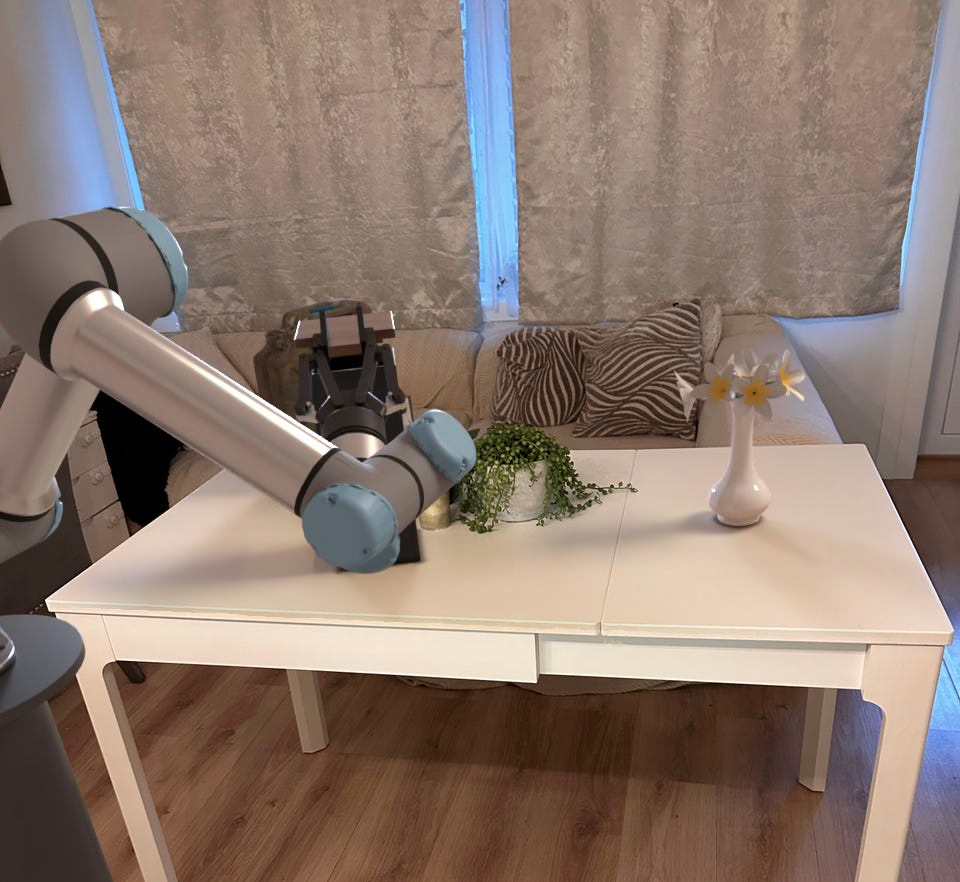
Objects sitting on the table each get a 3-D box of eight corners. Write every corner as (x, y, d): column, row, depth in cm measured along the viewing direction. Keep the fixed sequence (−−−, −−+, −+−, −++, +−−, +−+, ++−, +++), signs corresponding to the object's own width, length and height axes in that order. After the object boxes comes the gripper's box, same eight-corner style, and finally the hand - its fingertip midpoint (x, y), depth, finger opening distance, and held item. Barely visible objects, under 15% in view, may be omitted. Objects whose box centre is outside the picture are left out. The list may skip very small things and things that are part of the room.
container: (367, 450, 192) (344, 295, 177) (398, 458, 185) (376, 298, 171) (272, 482, 179) (239, 318, 165) (302, 493, 172) (270, 323, 158)
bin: (420, 561, 141) (395, 365, 127) (340, 571, 141) (306, 375, 127) (416, 531, 152) (393, 346, 138) (342, 540, 151) (310, 356, 137)
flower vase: (664, 511, 150) (665, 351, 138) (778, 498, 150) (789, 337, 138) (687, 543, 138) (690, 371, 126) (810, 529, 139) (825, 356, 127)
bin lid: (398, 356, 117) (396, 339, 116) (293, 368, 116) (290, 351, 115) (393, 325, 135) (391, 310, 134) (301, 335, 134) (299, 320, 133)
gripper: (287, 482, 112) (281, 347, 124) (430, 465, 113) (410, 332, 125) (274, 438, 106) (269, 300, 118) (426, 420, 107) (405, 285, 119)
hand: (341, 317), depth 121 cm, fingers closed on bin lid, 4 cm apart
